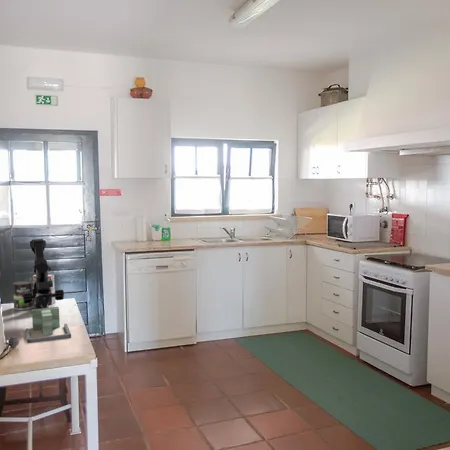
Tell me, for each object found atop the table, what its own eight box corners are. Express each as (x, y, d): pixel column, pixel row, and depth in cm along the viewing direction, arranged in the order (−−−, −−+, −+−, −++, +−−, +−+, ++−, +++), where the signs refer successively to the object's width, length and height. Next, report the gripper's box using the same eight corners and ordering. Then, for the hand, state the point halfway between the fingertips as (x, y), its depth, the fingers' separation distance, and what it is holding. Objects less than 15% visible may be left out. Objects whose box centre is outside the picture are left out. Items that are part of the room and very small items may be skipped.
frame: (25, 331, 235) (25, 328, 235) (66, 326, 242) (66, 323, 242) (27, 343, 219) (27, 340, 219) (71, 337, 226) (71, 334, 226)
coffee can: (34, 308, 275) (33, 283, 274) (14, 310, 271) (12, 285, 269) (33, 304, 284) (32, 279, 283) (13, 306, 280) (12, 281, 279)
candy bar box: (33, 304, 284) (31, 275, 282) (37, 302, 289) (35, 274, 287) (52, 304, 283) (50, 276, 281) (55, 302, 288) (54, 274, 286)
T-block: (32, 327, 241) (31, 309, 240) (58, 324, 246) (58, 306, 245) (34, 336, 228) (33, 317, 227) (61, 332, 233) (61, 313, 232)
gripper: (22, 276, 242) (24, 304, 233) (62, 273, 250) (66, 300, 241) (22, 289, 250) (24, 316, 241) (61, 285, 258) (64, 312, 249)
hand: (45, 311), depth 243 cm, fingers closed, pressing on T-block
